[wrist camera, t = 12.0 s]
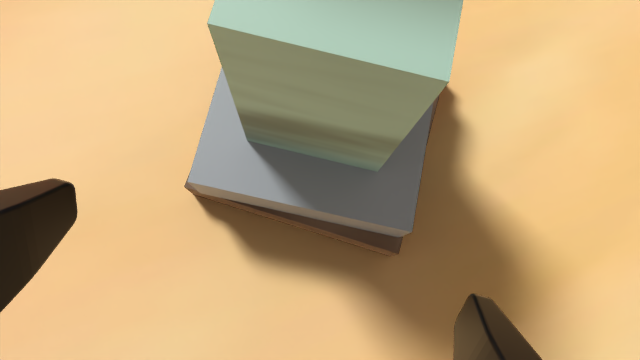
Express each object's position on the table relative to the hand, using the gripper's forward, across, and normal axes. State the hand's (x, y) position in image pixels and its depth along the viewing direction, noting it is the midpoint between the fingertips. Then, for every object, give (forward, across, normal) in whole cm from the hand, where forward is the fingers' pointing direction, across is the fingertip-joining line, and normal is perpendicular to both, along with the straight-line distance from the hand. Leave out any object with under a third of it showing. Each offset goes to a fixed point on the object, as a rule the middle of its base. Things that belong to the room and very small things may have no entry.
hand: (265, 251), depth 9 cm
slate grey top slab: (+13, +1, +2) cm, 14 cm away
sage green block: (+12, 0, 0) cm, 12 cm away
